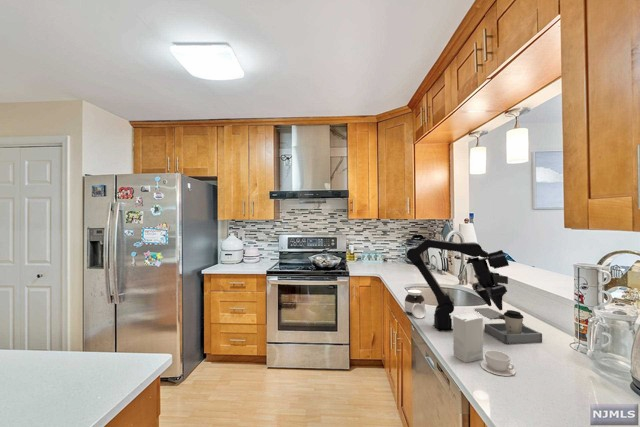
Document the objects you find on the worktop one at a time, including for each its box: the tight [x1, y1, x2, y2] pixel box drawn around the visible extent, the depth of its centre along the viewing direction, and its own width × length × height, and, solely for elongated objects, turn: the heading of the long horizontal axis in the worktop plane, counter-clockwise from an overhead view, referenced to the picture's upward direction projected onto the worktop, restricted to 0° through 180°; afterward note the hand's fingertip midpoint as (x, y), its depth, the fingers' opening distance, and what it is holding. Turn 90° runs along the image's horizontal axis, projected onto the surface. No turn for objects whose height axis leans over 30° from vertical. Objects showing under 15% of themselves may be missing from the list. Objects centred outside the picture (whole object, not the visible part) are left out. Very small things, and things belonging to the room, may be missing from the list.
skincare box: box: [452, 312, 484, 363], centre depth 105 cm, size 8×6×15 cm
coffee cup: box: [503, 309, 525, 334], centre depth 122 cm, size 7×7×10 cm
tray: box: [484, 322, 543, 345], centre depth 123 cm, size 16×13×4 cm
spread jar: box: [404, 289, 427, 319], centre depth 151 cm, size 12×11×12 cm
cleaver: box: [474, 307, 526, 326], centre depth 146 cm, size 29×10×2 cm, turn 5°
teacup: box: [480, 349, 516, 377], centre depth 98 cm, size 10×10×5 cm
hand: (495, 307), depth 124 cm, fingers open, 9 cm apart
